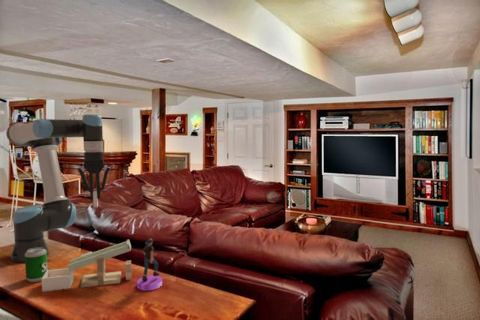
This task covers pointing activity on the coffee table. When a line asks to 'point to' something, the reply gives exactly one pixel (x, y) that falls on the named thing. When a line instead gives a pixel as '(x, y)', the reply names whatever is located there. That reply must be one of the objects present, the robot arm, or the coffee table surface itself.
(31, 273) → the soda can
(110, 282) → the stand
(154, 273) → the figurine
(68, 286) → the dish
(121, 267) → the coffee table surface
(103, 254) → the lever
